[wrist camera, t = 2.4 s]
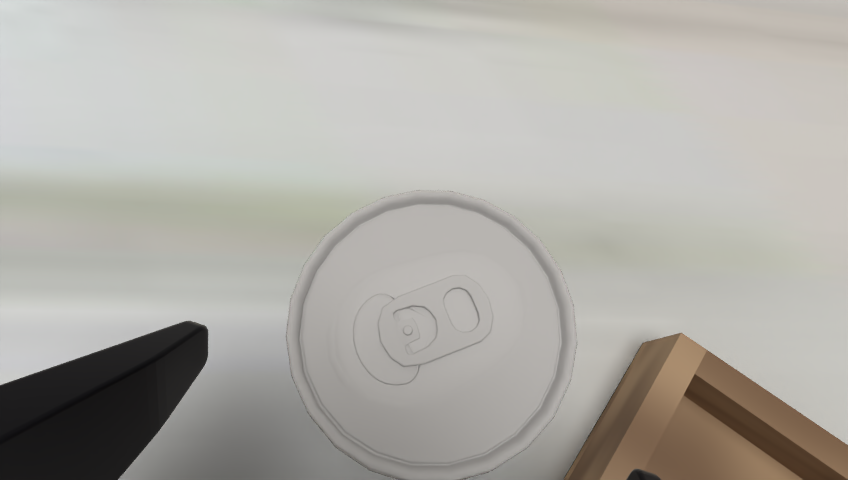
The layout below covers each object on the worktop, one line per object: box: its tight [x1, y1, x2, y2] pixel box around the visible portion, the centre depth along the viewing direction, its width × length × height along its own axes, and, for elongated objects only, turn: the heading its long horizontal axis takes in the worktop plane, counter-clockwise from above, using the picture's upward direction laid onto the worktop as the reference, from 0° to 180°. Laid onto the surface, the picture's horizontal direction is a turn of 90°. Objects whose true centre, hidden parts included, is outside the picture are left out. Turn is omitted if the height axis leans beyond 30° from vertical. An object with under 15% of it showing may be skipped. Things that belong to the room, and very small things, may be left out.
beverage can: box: [286, 190, 577, 480], centre depth 13 cm, size 5×5×12 cm
